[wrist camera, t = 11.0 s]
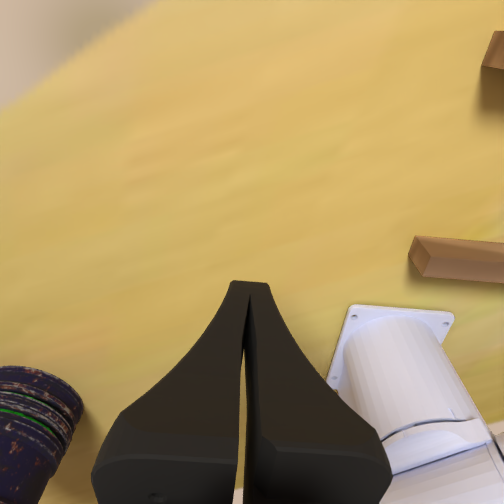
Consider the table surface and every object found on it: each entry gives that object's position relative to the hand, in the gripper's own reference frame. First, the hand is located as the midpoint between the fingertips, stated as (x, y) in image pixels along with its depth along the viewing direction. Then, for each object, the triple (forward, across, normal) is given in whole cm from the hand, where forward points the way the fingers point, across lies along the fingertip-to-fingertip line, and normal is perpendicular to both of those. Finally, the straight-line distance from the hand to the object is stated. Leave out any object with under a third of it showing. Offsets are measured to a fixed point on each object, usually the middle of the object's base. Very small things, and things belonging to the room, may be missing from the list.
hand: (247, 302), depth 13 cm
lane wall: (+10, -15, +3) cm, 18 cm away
